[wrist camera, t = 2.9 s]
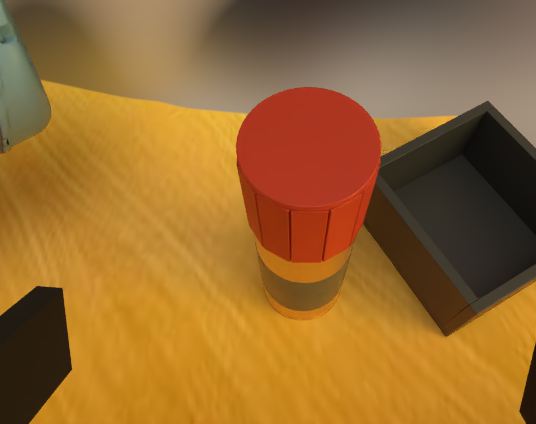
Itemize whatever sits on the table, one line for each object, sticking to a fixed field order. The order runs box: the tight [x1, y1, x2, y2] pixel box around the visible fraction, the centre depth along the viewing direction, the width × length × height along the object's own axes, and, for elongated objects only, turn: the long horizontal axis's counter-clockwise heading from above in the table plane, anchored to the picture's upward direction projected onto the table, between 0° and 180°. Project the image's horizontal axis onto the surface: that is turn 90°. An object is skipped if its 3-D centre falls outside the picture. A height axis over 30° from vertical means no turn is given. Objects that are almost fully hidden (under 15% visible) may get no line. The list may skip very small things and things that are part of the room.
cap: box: [236, 87, 381, 263], centre depth 25 cm, size 7×7×7 cm
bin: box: [363, 101, 536, 337], centre depth 39 cm, size 14×13×7 cm
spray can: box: [254, 234, 355, 320], centre depth 34 cm, size 7×7×16 cm
